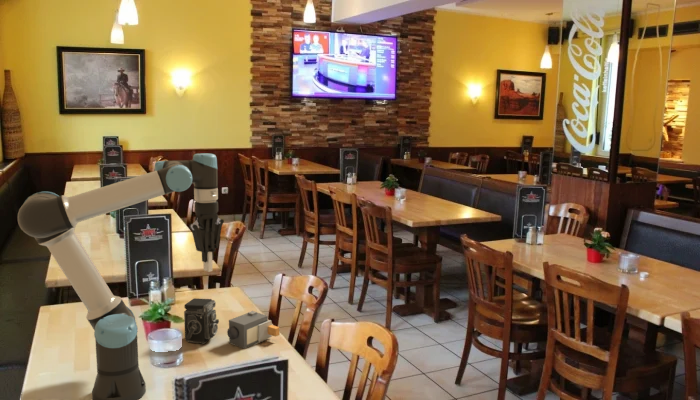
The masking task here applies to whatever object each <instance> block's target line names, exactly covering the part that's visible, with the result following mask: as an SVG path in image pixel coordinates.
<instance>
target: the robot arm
mask: <svg viewBox="0 0 700 400" xmlns="http://www.w3.org/2000/svg"><path fill="white" fill-rule="evenodd" d="M218 179H219V178H218V159H217V156H216V154H214V153H205V152H204V153H195V154H193V156H192V159H189V160H160V161H156V162H155V163H154V171H151V172H148V173H144V174H141V175H138V176H134V177H131V178H127V179H125V180H124V179H123V180H121V181H118V182H114V183H111V184H107V185H105V186H102V187H98V188H95V189H92V190H89V191H85V192H81V193H79V194H75V195H72V196H66V195H64V194H63V195H58V194H56V193H55V192H52V191H39V192H36V193H33V194H31V195H30V196H28V197H27V198H26V199H25V200H24V202H23V204H22V205H21V207H20V208H19V209H18V213H17V223H18V226H19V228H20V230H21V231H23V233H25V234H26V235H28V236H29V237H32V238H34V239H35V241H36V242H37V244H38V245H40V246H43V247H47V249H48V251H49V253H51V255H52V257H53V258H54V260H55V261H56V264H58V266H59V267H60V269H61V270H62V271H61V272H63V274H64V276H65V277H66V278H67V280H68V283H70V285H71V286H72V289H74V292H75V293H76V294H77V296H78V297H79V299H80V300H81V302H82V304H83V305H84V306H85V309H86V310H87V314H86V316H85V317H86V320H87V321H88V323H89V324H90V326H91V327H92V329H93V330H94V332H93V333H94V335H93V336H94V339H95V340H94V341H95V354H96V356H95V357H96V376H95V380H94V383H93V388H92V391H91V392H92V393H91V397H92V398H91V399H92V400H140V399H141V398H142V397H143V396H144V395H145V394H146V390H147V388H146V381H145V378H144V377H143V376H144V375H143V374H142V372H141V370H140V367H139V366H140V365H139V348H138V347H139V343H138V332H139V331H138V325H137V322H136V317H135V315H134V312H133V311H132V310H131V309H130V308H129V307H128V306H127V305H126V303H125V302H124V300H123V299H122V298H121V296H118V295H114V294H113V292H112V291H111V289H110V287H109V286H108V284H107V282H106V280H105V279H104V277H103V276H102V275H101V273H100V271H99V270H98V268H97V266H96V264H95V263H94V262H93V260H92V258H91V257H90V254H89V253H88V252H87V250H86V249H85V247H84V246H83V244H82V242H81V241H80V239H79V237H78V235H77V234H76V232H75V230H76V227H77V225H78V223H80V222H84V221H86V220H90V219H94V218H96V217H99V216H103V215H105V214H108V213H112V212H114V211H118V210H120V209H124V208H127V207H129V206H134V205H136V204H139V203H144V202H145V201H149V200H153V199H155V198H158V197H161V196H164V195H168V194H173V193H174V192H179V193H181V192H184V191H187V190H188V189H189V188H190V187H191V185H192V184H193V195H194V196H193V198H194V200H195V202H194V213H195V215H196V216H195V218H194V222H193V223H189V225H188V226H189V229H190V230H191V234H192V237H193V240H194V245H195V250H196V251H197V252H200V253H201V261H202V263H203V271H205V272H208V273H210V272H213V270H214V269H213V261H214V259H215V258H214V256H215V255H214V253H215V252H216V249H218V248H219V246H220V245H219V244H220V239H221V233H222V226H223V224H224V222H225V220H224V219H221V218H219V215H218V212H219V202H218V199H219V189H218V183H219V182H218Z"/></svg>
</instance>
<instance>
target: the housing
mask: <svg viewBox="0 0 700 400" xmlns="http://www.w3.org/2000/svg"><path fill="white" fill-rule="evenodd" d="M268 319H269V317H268V315H266V314H263V313H259V312H257V311H254V310H251V311H248V312H247V313H245V314H241V315H239V316H236V317H233V318H231V319H228V328H227V332H226V333H227V336H228V340H229V341H228V342H229V344H231V345H233V346H236V347H238V348H242V349H244V350H245V349H247V348H249V347H252V346H254V345H257V344H258V343H260V342H258V325H259V324H262V323H264V322H266V321H269V320H268ZM266 340H267V339H265V340H264V341H266Z"/></svg>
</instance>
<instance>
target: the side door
mask: <svg viewBox="0 0 700 400" xmlns="http://www.w3.org/2000/svg"><path fill="white" fill-rule="evenodd" d="M278 336H280V326H276V325H273V324H272V320H271V319H269V320H268V321H266V322H264V323H262V324H259V325H258V342H259V343H261V342H263V341H266V340H268V339H269V338H271V337H278ZM265 339H266V340H265Z"/></svg>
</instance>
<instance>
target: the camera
mask: <svg viewBox="0 0 700 400" xmlns="http://www.w3.org/2000/svg"><path fill="white" fill-rule="evenodd" d="M183 307H184V309H185V310H184V312H183V316H184V317H183V319H184V322H183V323H184V340H185V342H188V343H195V344H197V343H198V344H206V343H207V342H208V341H210V340H211V339H212V338H214V337H215V336H216V335H217V333H218V329H219V327H218V326H219V325H218V324H219V322H220V321H219V319H217V314H216V312H217V310H216V309H214V308H216V301H215V300H214V299H212V298H194V297H193V298H192V299H191V300H190V301H187V303H185V304H184V306H183Z"/></svg>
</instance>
